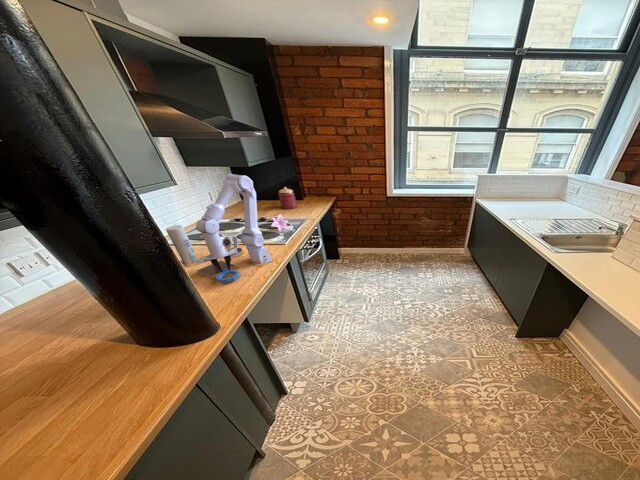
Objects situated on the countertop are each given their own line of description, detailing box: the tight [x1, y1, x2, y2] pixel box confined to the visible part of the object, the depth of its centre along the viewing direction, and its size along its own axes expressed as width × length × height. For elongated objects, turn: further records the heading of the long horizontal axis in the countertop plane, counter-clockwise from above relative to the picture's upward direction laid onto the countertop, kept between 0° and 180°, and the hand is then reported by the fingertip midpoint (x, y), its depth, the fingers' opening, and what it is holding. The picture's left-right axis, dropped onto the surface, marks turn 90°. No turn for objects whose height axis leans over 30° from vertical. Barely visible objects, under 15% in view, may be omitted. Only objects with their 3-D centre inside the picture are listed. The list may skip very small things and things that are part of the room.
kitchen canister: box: [278, 186, 298, 210], centre depth 218 cm, size 13×13×18 cm
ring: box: [215, 266, 241, 284], centre depth 115 cm, size 12×9×3 cm
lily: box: [270, 213, 290, 233], centre depth 173 cm, size 12×12×10 cm
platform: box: [196, 260, 237, 277], centre depth 123 cm, size 12×12×5 cm
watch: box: [222, 235, 243, 254], centre depth 137 cm, size 6×8×11 cm
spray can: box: [165, 224, 199, 265], centre depth 125 cm, size 6×6×20 cm
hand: (225, 271), depth 118 cm, fingers closed on ring, 2 cm apart
